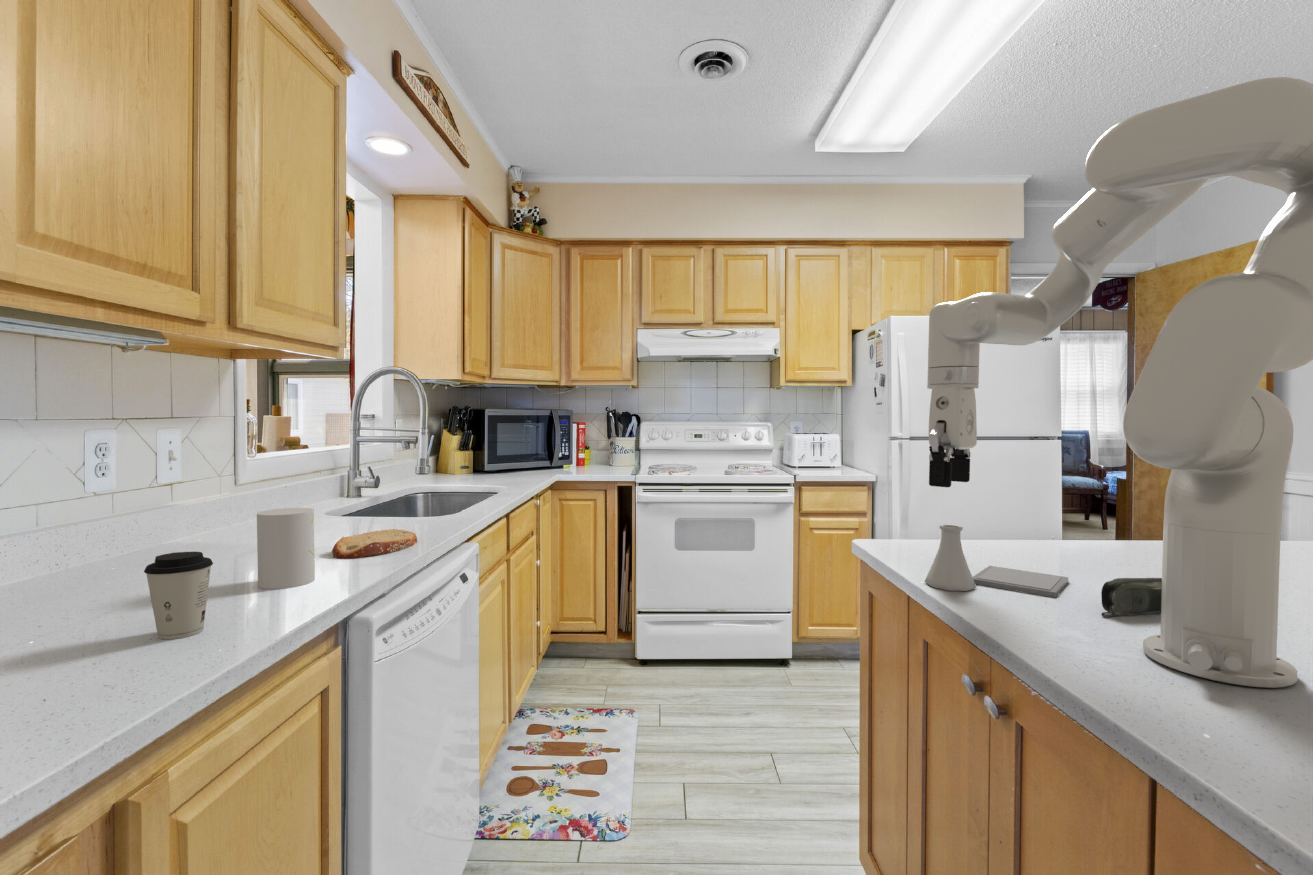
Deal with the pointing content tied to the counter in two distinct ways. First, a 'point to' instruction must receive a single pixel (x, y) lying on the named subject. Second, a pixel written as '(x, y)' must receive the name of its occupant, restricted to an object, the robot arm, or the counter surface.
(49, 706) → the counter surface
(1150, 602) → the dark green rounded block
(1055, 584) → the grey square plate
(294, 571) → the cup
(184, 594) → the coffee cup
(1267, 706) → the counter surface
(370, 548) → the slice of bread
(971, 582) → the flask
